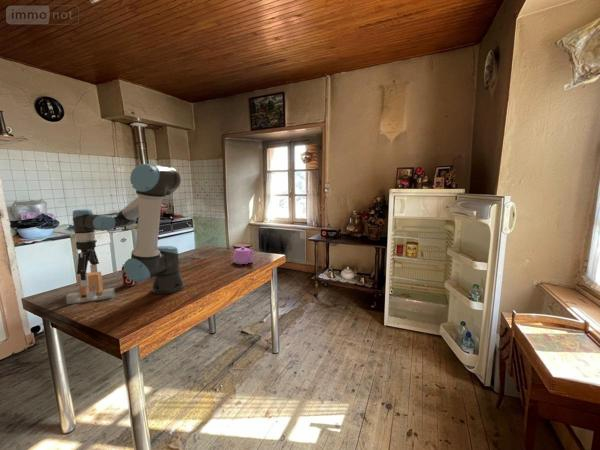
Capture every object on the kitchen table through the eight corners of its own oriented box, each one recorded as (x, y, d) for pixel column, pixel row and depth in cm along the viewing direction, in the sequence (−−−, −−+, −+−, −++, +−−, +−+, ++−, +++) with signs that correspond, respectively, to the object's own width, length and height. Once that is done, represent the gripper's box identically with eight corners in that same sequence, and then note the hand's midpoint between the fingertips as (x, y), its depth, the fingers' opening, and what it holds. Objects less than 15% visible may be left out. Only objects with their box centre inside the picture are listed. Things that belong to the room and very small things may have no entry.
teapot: (227, 263, 183) (227, 247, 181) (241, 258, 194) (241, 243, 192) (247, 268, 172) (246, 251, 170) (261, 263, 182) (260, 247, 181)
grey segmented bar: (115, 295, 129) (114, 287, 128) (113, 297, 126) (112, 290, 125) (70, 301, 122) (69, 293, 122) (67, 304, 119) (65, 296, 118)
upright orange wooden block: (103, 289, 136) (101, 271, 134) (99, 293, 131) (97, 274, 130) (84, 291, 133) (82, 273, 131) (80, 295, 128) (77, 276, 127)
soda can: (136, 281, 147) (134, 261, 145) (139, 284, 142) (137, 264, 141) (122, 284, 142) (120, 263, 141) (124, 288, 138) (122, 266, 136)
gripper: (85, 236, 138) (90, 273, 141) (64, 246, 115) (70, 291, 118) (102, 235, 141) (106, 272, 144) (85, 245, 118) (90, 289, 121)
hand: (90, 281), depth 131 cm, fingers open, 13 cm apart
